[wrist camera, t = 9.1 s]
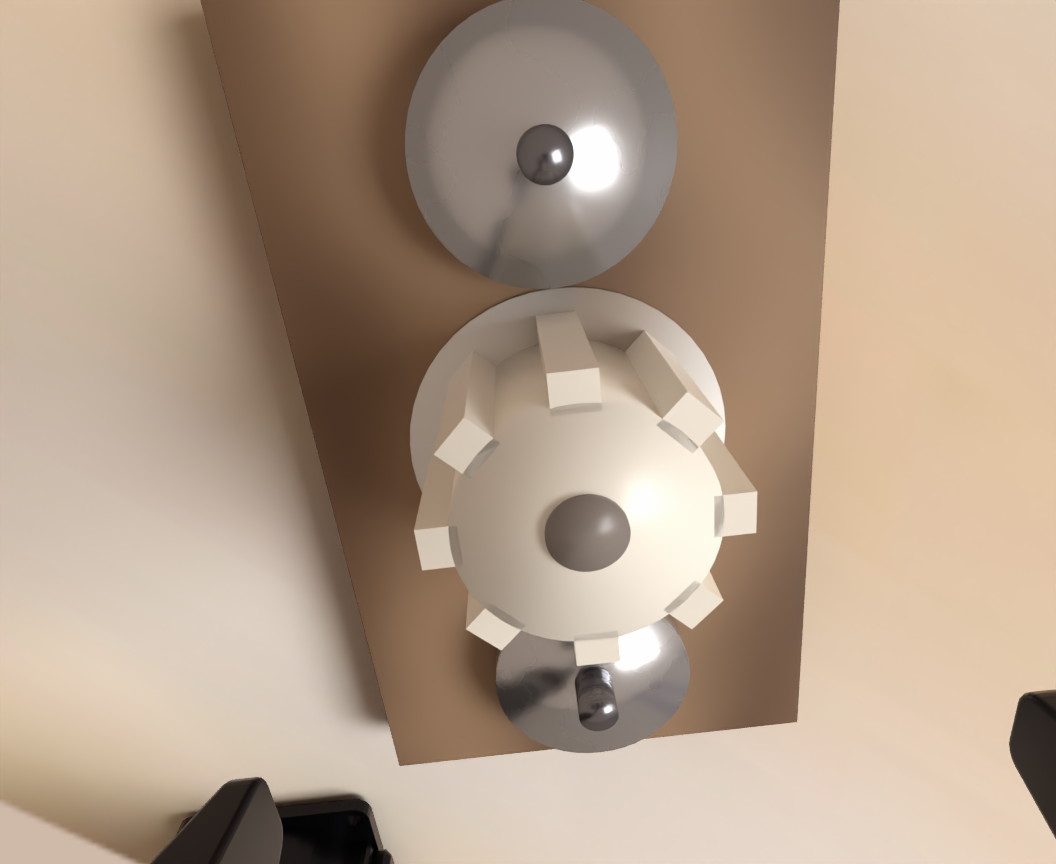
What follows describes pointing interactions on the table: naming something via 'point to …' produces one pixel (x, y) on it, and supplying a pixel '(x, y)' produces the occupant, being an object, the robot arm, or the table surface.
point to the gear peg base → (553, 266)
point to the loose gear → (580, 491)
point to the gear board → (510, 314)
